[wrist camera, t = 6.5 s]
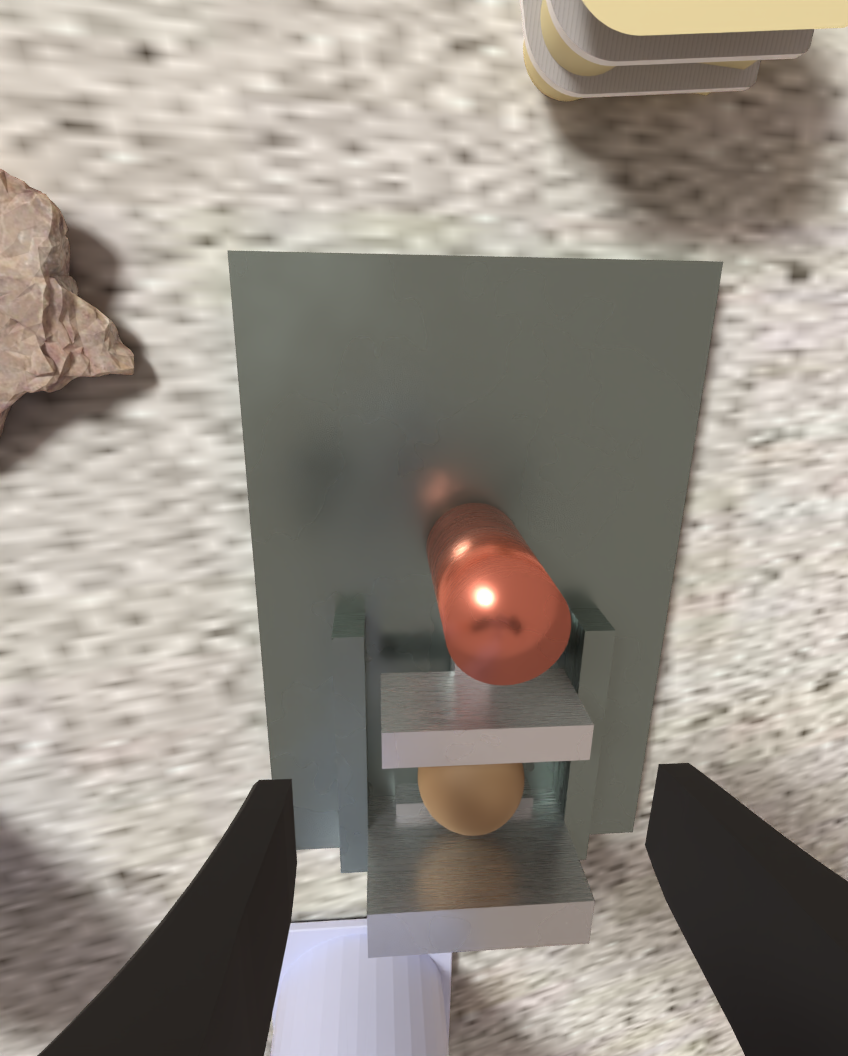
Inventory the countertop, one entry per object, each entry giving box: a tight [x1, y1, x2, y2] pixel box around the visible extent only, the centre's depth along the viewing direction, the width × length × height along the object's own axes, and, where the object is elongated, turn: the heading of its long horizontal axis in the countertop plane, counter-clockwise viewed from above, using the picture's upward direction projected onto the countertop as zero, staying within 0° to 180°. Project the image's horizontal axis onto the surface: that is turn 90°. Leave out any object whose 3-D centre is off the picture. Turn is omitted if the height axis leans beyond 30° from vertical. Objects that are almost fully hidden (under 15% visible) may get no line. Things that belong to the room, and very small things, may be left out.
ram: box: [381, 503, 594, 769], centre depth 17 cm, size 7×6×6 cm
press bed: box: [228, 251, 723, 958], centre depth 19 cm, size 21×14×6 cm, turn 179°
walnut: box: [418, 763, 524, 836], centre depth 20 cm, size 4×4×4 cm
